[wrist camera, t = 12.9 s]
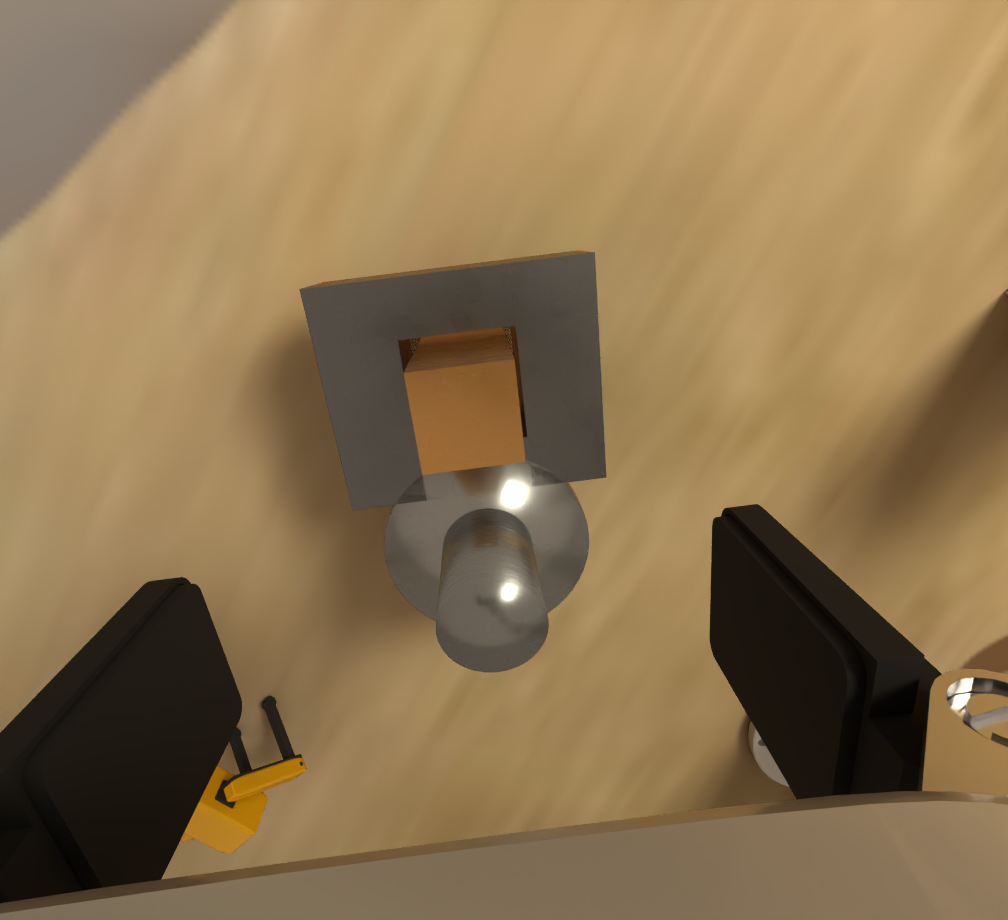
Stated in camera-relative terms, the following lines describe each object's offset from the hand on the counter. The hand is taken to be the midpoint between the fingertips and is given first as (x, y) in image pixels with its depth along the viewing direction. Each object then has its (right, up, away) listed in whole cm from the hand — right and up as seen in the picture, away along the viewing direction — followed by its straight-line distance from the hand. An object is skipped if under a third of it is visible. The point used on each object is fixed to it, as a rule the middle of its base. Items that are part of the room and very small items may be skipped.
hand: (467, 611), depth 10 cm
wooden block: (-1, +9, +22) cm, 23 cm away
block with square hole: (-1, +5, +23) cm, 24 cm away
